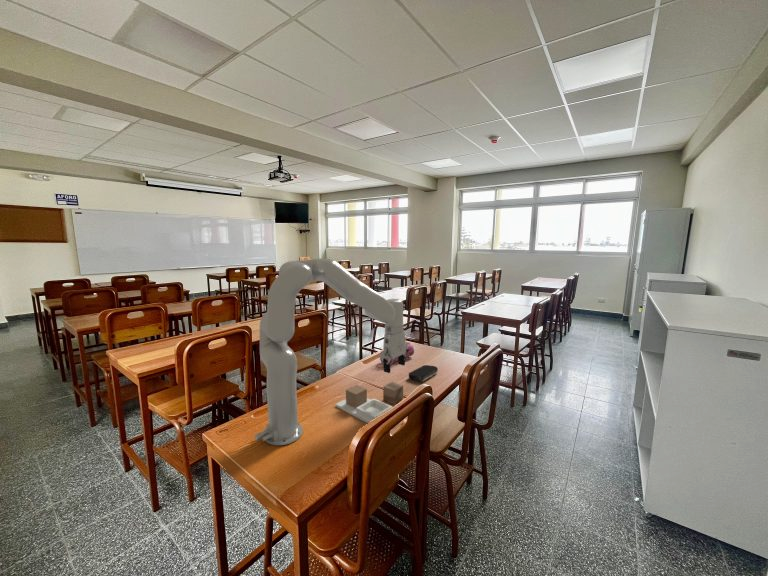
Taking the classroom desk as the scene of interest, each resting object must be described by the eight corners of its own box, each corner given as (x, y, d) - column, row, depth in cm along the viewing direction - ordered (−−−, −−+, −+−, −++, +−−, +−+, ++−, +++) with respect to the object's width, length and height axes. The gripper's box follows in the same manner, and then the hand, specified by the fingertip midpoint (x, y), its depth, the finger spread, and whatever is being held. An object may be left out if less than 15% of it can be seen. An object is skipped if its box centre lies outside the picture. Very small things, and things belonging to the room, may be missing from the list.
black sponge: (421, 384, 145) (421, 377, 145) (406, 379, 151) (407, 372, 150) (439, 374, 158) (439, 367, 157) (425, 369, 163) (425, 363, 162)
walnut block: (394, 404, 127) (394, 390, 126) (383, 399, 131) (383, 386, 130) (403, 399, 131) (403, 385, 130) (392, 394, 135) (392, 381, 134)
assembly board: (375, 427, 111) (375, 409, 110) (335, 406, 125) (335, 390, 124) (396, 413, 120) (396, 396, 119) (356, 395, 134) (356, 380, 133)
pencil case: (390, 368, 164) (390, 352, 163) (378, 363, 170) (378, 348, 169) (415, 357, 179) (415, 343, 178) (403, 354, 186) (403, 339, 184)
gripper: (387, 335, 118) (388, 377, 120) (413, 325, 131) (413, 364, 133) (373, 332, 123) (374, 372, 125) (399, 323, 136) (400, 360, 138)
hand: (394, 368), depth 129 cm, fingers open, 9 cm apart
